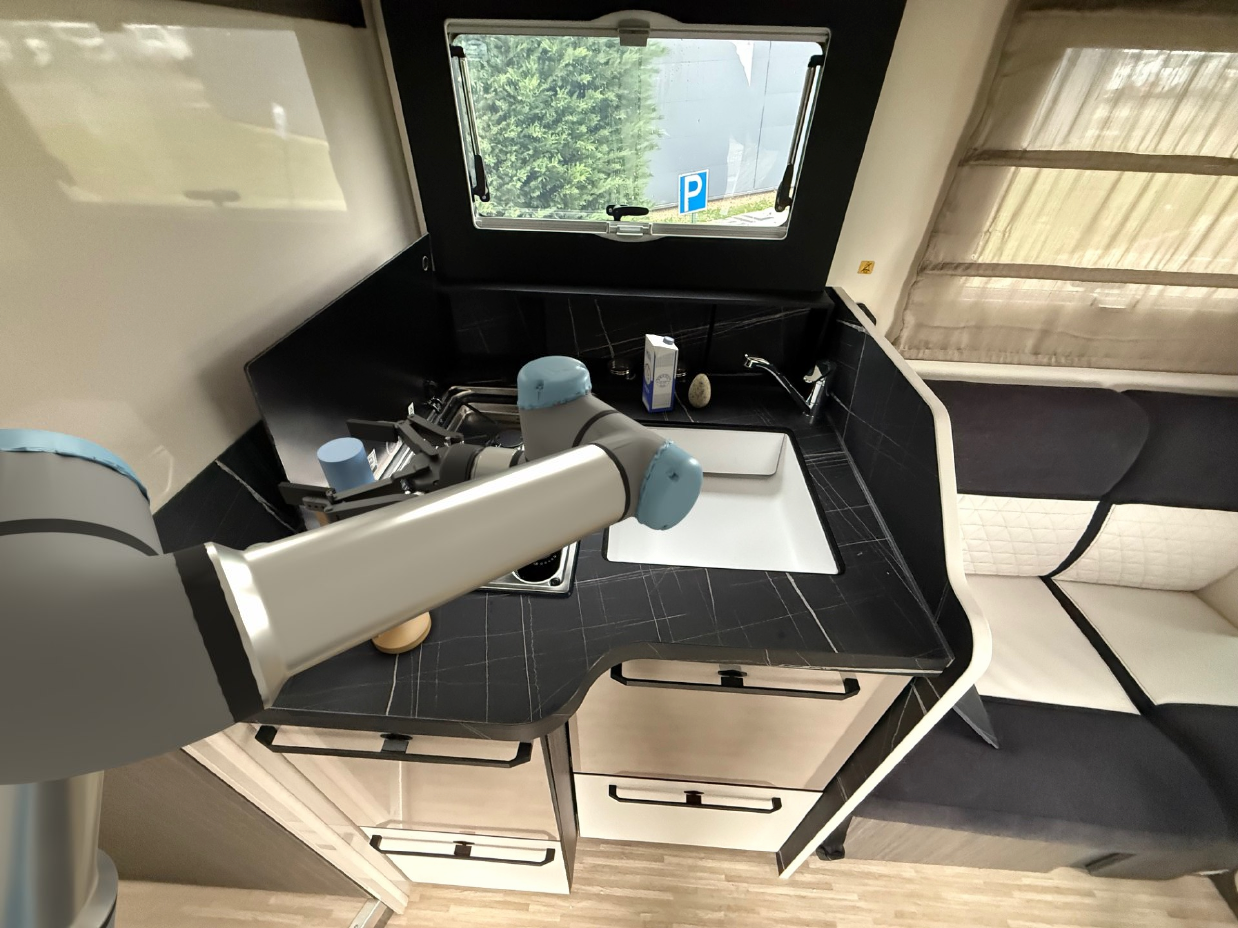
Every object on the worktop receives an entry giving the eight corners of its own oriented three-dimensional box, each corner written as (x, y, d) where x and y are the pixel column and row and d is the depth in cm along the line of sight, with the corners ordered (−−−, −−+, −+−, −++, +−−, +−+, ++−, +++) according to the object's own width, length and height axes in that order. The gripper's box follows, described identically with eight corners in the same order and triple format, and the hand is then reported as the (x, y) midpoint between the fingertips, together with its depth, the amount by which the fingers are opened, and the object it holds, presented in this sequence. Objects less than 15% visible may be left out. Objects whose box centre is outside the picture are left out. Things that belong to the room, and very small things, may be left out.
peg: (368, 570, 72) (326, 467, 61) (352, 550, 75) (309, 449, 64) (404, 551, 75) (370, 449, 64) (387, 532, 78) (352, 432, 67)
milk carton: (642, 400, 147) (645, 333, 135) (664, 397, 149) (670, 331, 137) (649, 412, 142) (653, 344, 130) (672, 410, 143) (679, 342, 131)
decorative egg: (698, 398, 149) (702, 367, 143) (713, 407, 145) (717, 375, 139) (682, 405, 146) (686, 373, 140) (697, 414, 142) (702, 381, 136)
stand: (442, 610, 90) (401, 474, 71) (418, 658, 82) (365, 520, 64) (390, 602, 91) (336, 467, 72) (361, 649, 83) (294, 511, 65)
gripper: (444, 576, 55) (263, 551, 58) (516, 443, 75) (378, 428, 77) (430, 525, 51) (234, 500, 53) (511, 398, 70) (365, 384, 73)
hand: (319, 458), depth 65 cm, fingers open, 13 cm apart
